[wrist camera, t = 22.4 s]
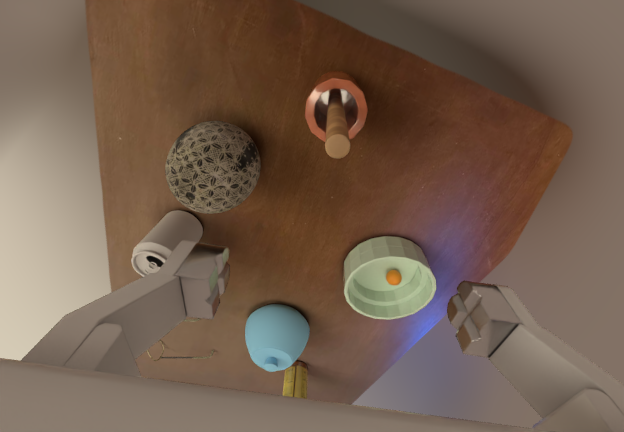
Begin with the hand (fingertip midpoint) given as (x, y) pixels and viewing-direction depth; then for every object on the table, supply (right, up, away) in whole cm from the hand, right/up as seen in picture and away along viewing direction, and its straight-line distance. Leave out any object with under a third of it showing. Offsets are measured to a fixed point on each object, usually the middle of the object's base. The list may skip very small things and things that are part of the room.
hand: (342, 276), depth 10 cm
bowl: (+13, -8, +46) cm, 48 cm away
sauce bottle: (-5, -40, +68) cm, 79 cm away
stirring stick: (+2, +18, +29) cm, 34 cm away
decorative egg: (-14, +13, +35) cm, 39 cm away
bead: (+15, -10, +44) cm, 48 cm away
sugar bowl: (-9, -23, +57) cm, 63 cm away
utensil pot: (+2, +19, +29) cm, 35 cm away
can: (-25, +1, +43) cm, 50 cm away
